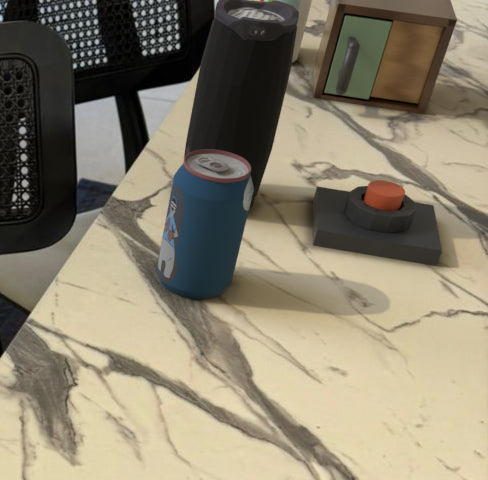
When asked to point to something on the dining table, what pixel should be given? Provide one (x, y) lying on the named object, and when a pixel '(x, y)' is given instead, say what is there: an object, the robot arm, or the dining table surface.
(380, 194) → the button
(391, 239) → the control block
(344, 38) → the sliding door
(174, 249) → the soda can
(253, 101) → the portable speaker
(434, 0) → the cabinet
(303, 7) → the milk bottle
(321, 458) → the dining table surface
